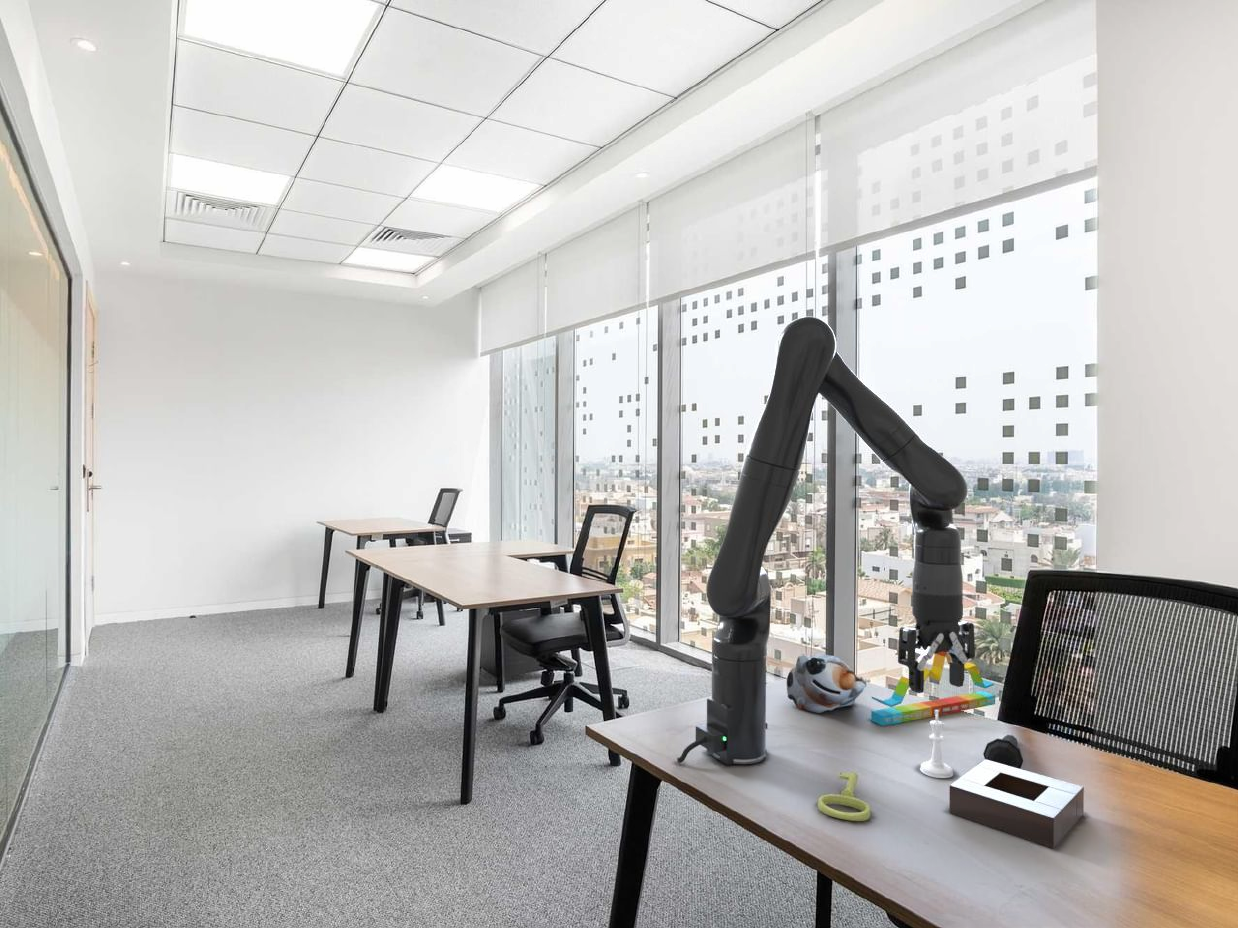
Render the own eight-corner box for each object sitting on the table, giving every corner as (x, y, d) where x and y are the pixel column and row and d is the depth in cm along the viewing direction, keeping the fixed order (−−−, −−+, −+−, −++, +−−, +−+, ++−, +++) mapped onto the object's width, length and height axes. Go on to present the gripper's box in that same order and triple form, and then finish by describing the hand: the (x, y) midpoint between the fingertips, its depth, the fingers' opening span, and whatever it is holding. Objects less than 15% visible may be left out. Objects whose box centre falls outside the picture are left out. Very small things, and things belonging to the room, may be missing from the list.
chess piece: (920, 775, 119) (920, 713, 119) (920, 763, 124) (920, 704, 124) (953, 780, 118) (954, 717, 118) (952, 768, 122) (952, 707, 122)
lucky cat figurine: (860, 699, 157) (877, 649, 150) (848, 738, 147) (865, 688, 140) (791, 670, 162) (805, 622, 155) (775, 707, 153) (788, 657, 146)
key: (857, 784, 116) (857, 770, 116) (873, 823, 104) (873, 808, 104) (809, 781, 117) (810, 768, 117) (820, 819, 105) (820, 804, 105)
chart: (883, 726, 141) (883, 647, 141) (871, 720, 144) (871, 643, 144) (996, 704, 154) (996, 632, 154) (983, 700, 157) (983, 629, 157)
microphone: (1001, 755, 135) (988, 781, 118) (991, 722, 136) (977, 743, 120) (1034, 752, 132) (1026, 778, 116) (1023, 718, 134) (1014, 739, 117)
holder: (1053, 848, 97) (1053, 818, 97) (949, 812, 107) (949, 785, 107) (1083, 814, 106) (1083, 786, 106) (985, 784, 116) (985, 758, 116)
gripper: (921, 596, 115) (921, 701, 115) (988, 589, 120) (988, 689, 120) (886, 588, 121) (886, 687, 122) (951, 582, 127) (950, 677, 127)
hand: (936, 688), depth 121 cm, fingers open, 8 cm apart
